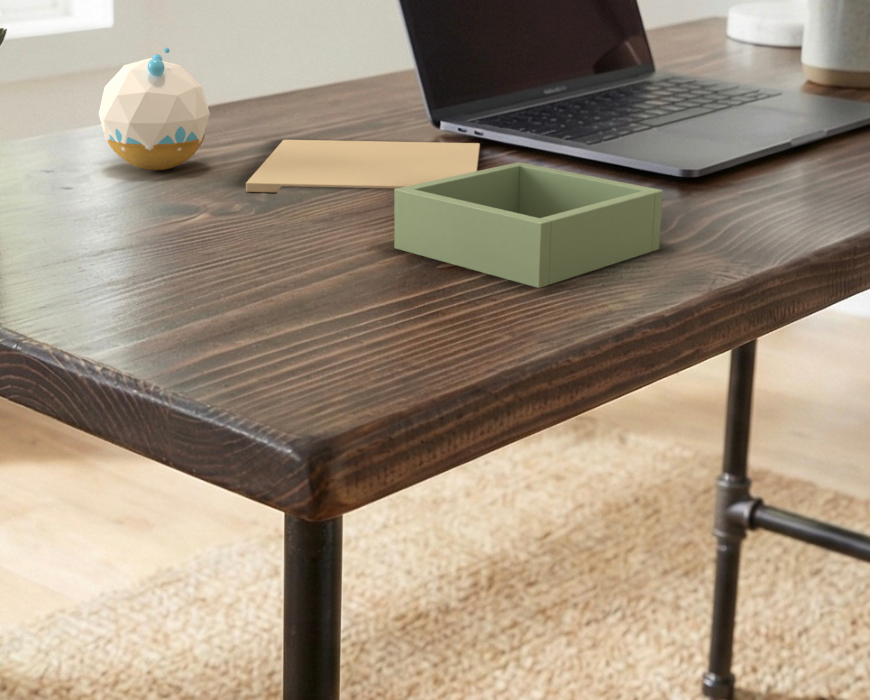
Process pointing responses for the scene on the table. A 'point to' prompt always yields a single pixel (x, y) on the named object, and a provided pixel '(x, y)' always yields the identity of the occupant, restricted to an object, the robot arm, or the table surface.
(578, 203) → the open square box
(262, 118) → the table surface
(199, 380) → the table surface
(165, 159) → the ornament
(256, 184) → the wooden board
